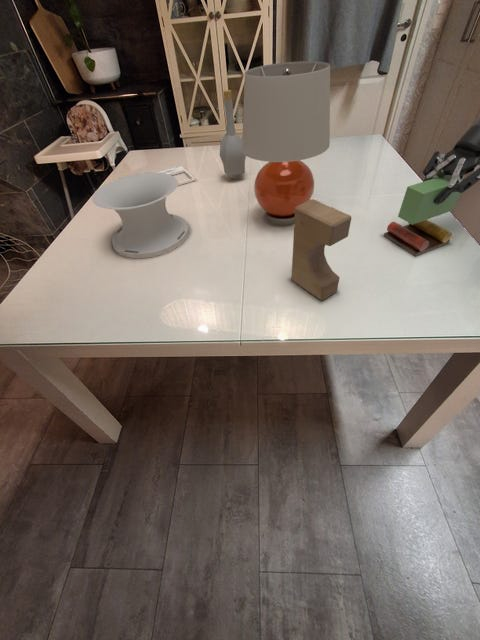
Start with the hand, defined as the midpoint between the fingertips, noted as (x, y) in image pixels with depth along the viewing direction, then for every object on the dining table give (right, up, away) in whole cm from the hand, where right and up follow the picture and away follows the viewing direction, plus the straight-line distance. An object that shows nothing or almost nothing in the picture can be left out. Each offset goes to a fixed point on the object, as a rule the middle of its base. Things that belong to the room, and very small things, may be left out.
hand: (426, 198), depth 76 cm
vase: (-77, -3, +23) cm, 81 cm away
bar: (+2, -3, +4) cm, 5 cm away
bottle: (-49, +29, +50) cm, 76 cm away
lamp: (-33, +4, +25) cm, 42 cm away
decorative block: (-29, -23, 0) cm, 37 cm away
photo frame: (-77, +32, +56) cm, 101 cm away
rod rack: (+3, -8, +10) cm, 13 cm away
